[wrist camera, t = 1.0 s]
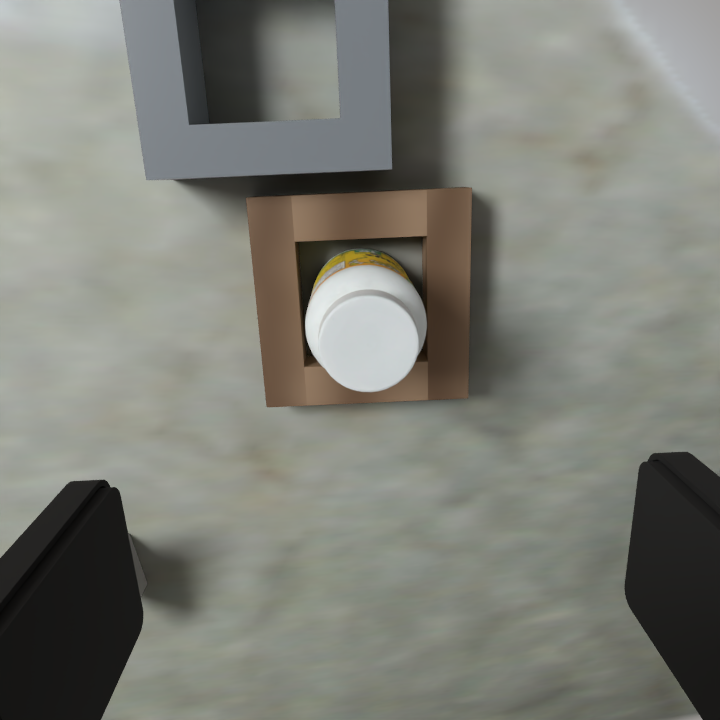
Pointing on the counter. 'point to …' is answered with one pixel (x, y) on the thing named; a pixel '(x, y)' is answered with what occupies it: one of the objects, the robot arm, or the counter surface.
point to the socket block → (254, 139)
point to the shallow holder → (361, 221)
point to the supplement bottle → (365, 320)
